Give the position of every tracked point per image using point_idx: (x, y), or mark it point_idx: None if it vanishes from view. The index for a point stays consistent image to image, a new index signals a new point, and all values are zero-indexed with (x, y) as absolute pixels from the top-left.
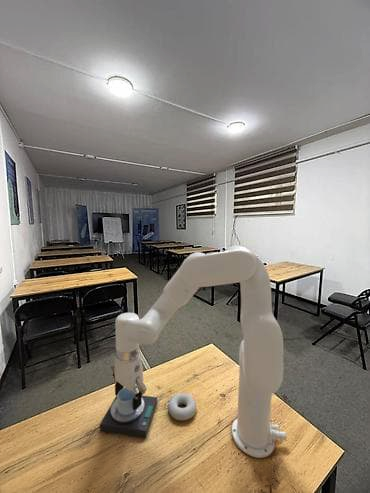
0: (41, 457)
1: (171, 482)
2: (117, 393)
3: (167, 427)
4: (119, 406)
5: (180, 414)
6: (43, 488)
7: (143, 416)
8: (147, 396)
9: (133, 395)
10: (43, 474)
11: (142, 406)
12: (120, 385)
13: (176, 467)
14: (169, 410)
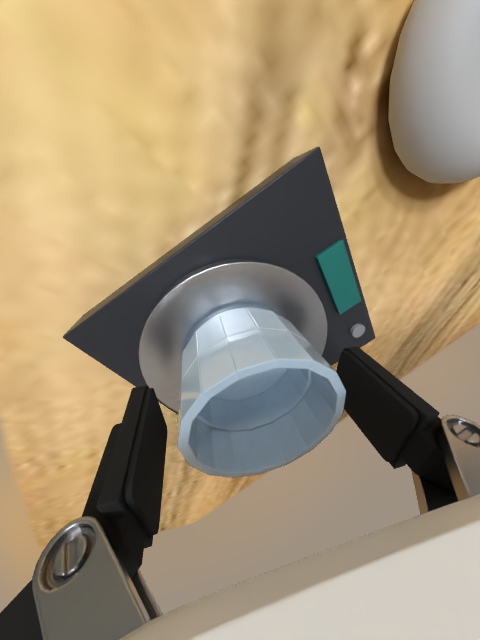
0: (176, 499)
1: (456, 332)
2: (165, 438)
3: (406, 235)
4: (256, 430)
5: None
6: (244, 488)
7: (331, 313)
8: (254, 201)
9: (420, 492)
10: (218, 492)
11: (309, 301)
12: (148, 477)
13: (463, 305)
14: (430, 173)
